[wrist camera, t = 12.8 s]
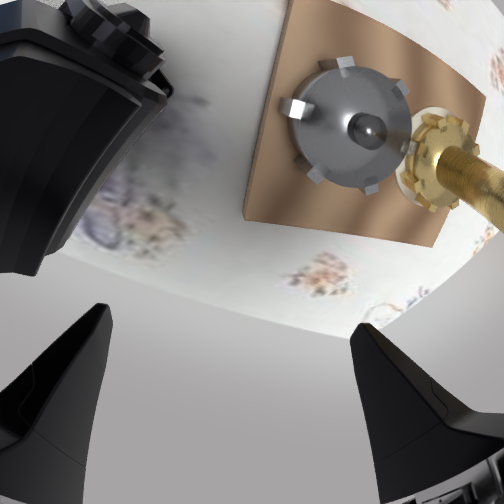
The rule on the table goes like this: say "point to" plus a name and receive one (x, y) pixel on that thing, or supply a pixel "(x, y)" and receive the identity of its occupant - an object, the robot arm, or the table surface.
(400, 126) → the sun gear
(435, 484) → the robot arm
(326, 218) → the carrier board
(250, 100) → the table surface
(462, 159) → the gear
